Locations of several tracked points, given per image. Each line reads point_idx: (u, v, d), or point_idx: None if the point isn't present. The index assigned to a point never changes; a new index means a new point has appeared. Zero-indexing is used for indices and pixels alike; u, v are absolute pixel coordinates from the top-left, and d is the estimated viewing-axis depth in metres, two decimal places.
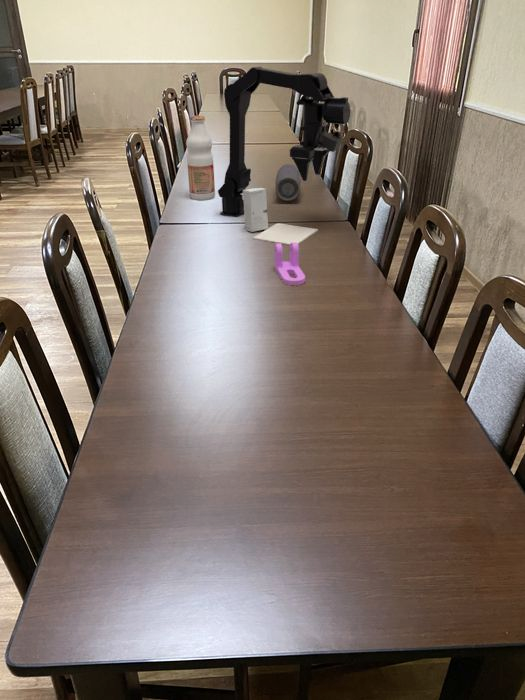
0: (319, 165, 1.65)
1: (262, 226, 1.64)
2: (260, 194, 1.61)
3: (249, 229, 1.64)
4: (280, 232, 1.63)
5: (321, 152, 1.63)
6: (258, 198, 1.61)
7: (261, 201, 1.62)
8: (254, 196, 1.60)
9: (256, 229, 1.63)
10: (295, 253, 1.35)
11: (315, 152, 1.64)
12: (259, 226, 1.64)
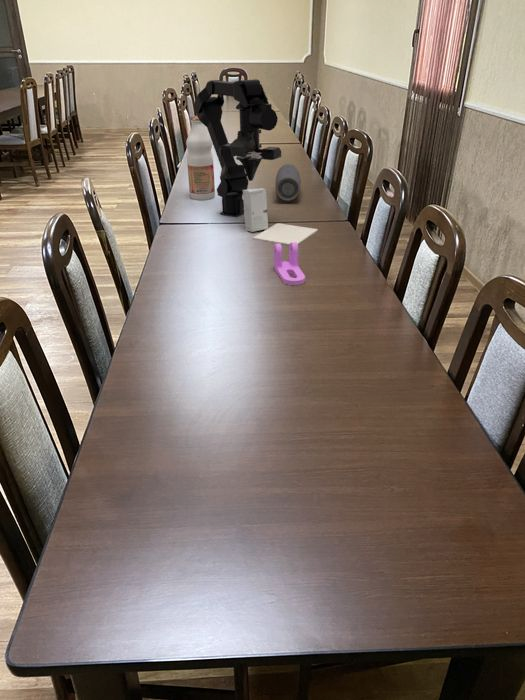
0: None
1: (262, 226, 1.64)
2: (260, 194, 1.61)
3: (249, 229, 1.64)
4: (280, 232, 1.63)
5: None
6: (258, 198, 1.61)
7: (261, 201, 1.62)
8: (254, 196, 1.60)
9: (256, 229, 1.63)
10: (295, 253, 1.35)
11: None
12: (259, 226, 1.64)
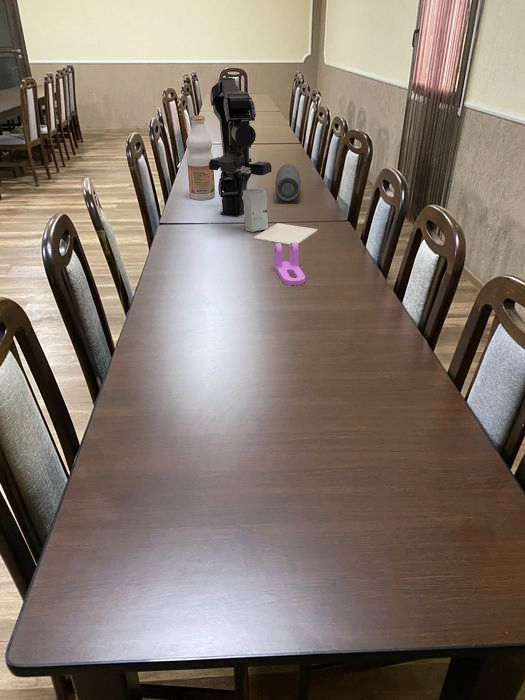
0: None
1: (262, 226, 1.64)
2: (260, 194, 1.61)
3: (249, 229, 1.64)
4: (280, 232, 1.63)
5: None
6: (258, 198, 1.61)
7: (261, 201, 1.62)
8: (254, 196, 1.60)
9: (256, 229, 1.63)
10: (295, 253, 1.35)
11: None
12: (259, 226, 1.64)
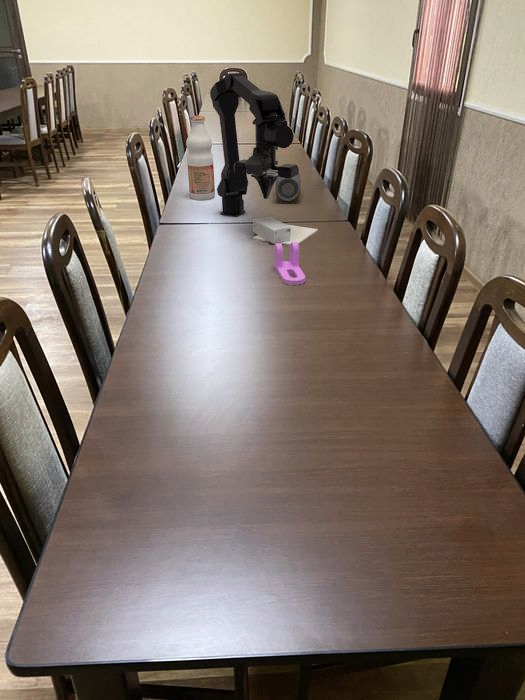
0: None
1: None
2: None
3: (253, 227, 1.62)
4: None
5: None
6: None
7: None
8: None
9: None
10: (295, 253, 1.35)
11: None
12: None
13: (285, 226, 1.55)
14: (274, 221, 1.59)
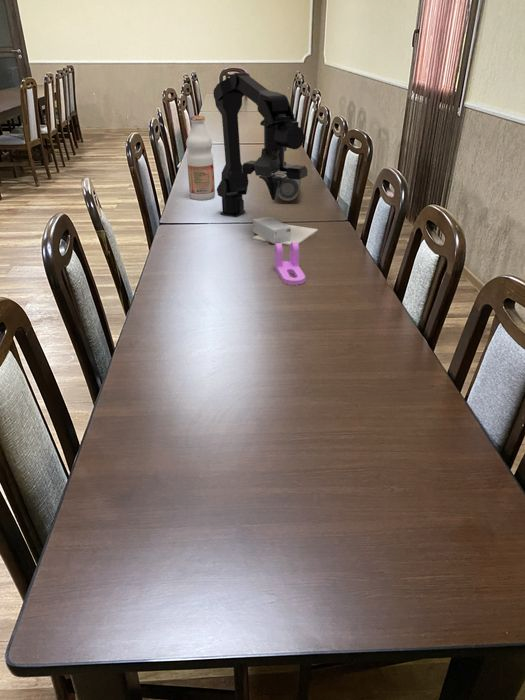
0: None
1: None
2: None
3: (253, 227, 1.62)
4: None
5: None
6: None
7: None
8: None
9: None
10: (296, 252, 1.35)
11: None
12: None
13: (285, 226, 1.55)
14: (274, 221, 1.59)
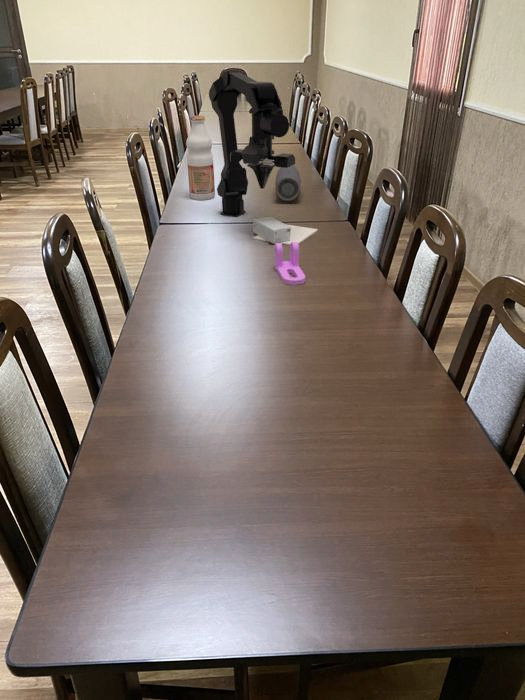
0: None
1: None
2: None
3: (253, 227, 1.62)
4: None
5: None
6: None
7: None
8: None
9: None
10: (296, 252, 1.35)
11: None
12: None
13: (285, 226, 1.55)
14: (274, 221, 1.59)
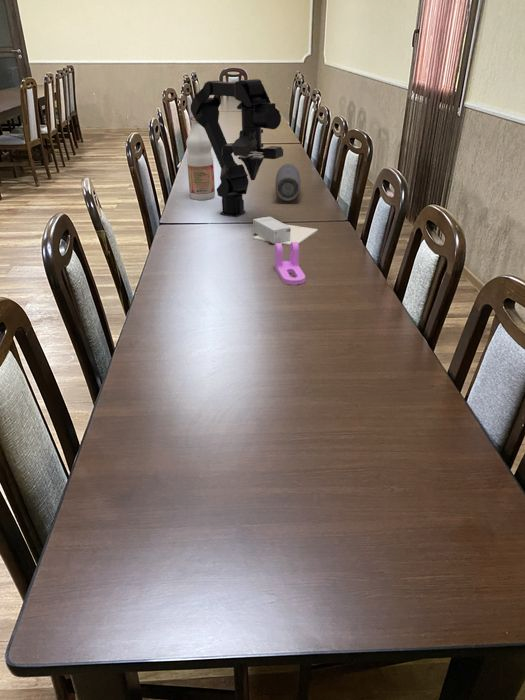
0: None
1: None
2: None
3: (253, 227, 1.62)
4: None
5: None
6: None
7: None
8: None
9: None
10: (295, 252, 1.35)
11: None
12: None
13: (285, 226, 1.55)
14: (274, 221, 1.59)
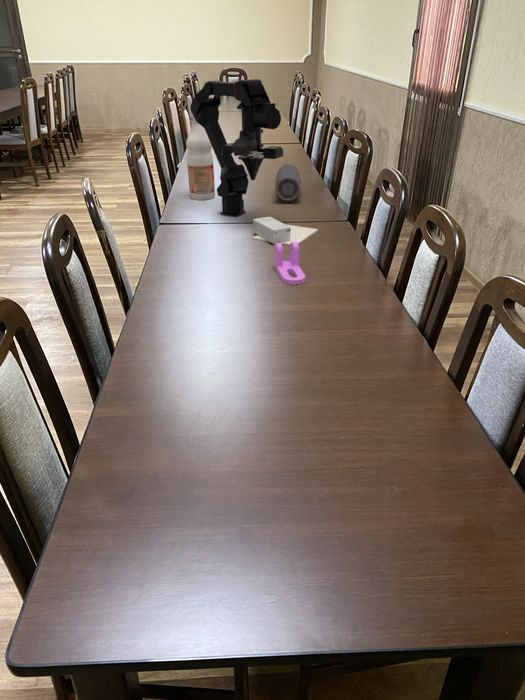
0: None
1: None
2: None
3: (253, 227, 1.62)
4: None
5: None
6: None
7: None
8: None
9: None
10: (295, 252, 1.35)
11: None
12: None
13: (285, 226, 1.55)
14: (274, 221, 1.59)
